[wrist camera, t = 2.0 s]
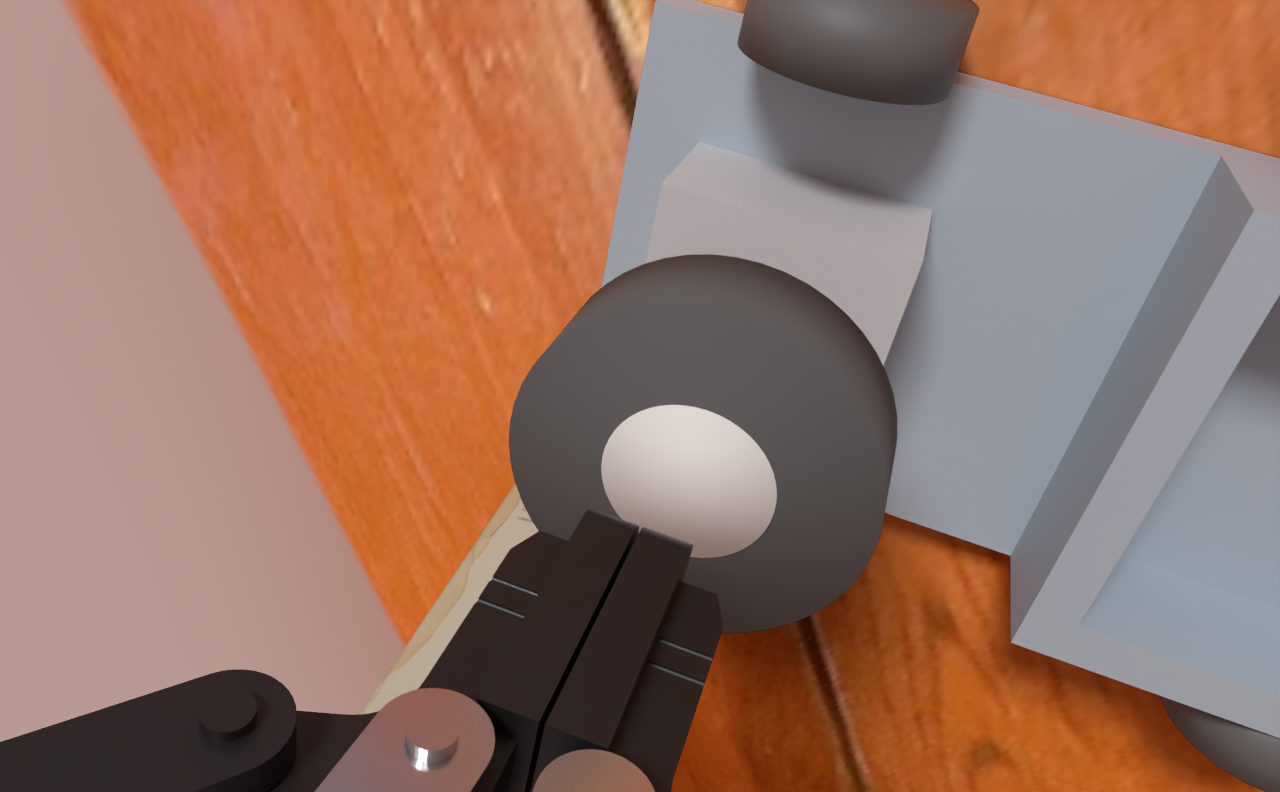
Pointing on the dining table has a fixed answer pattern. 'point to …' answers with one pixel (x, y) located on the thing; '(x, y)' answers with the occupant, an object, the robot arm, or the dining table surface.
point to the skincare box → (455, 601)
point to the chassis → (1012, 321)
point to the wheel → (716, 431)
